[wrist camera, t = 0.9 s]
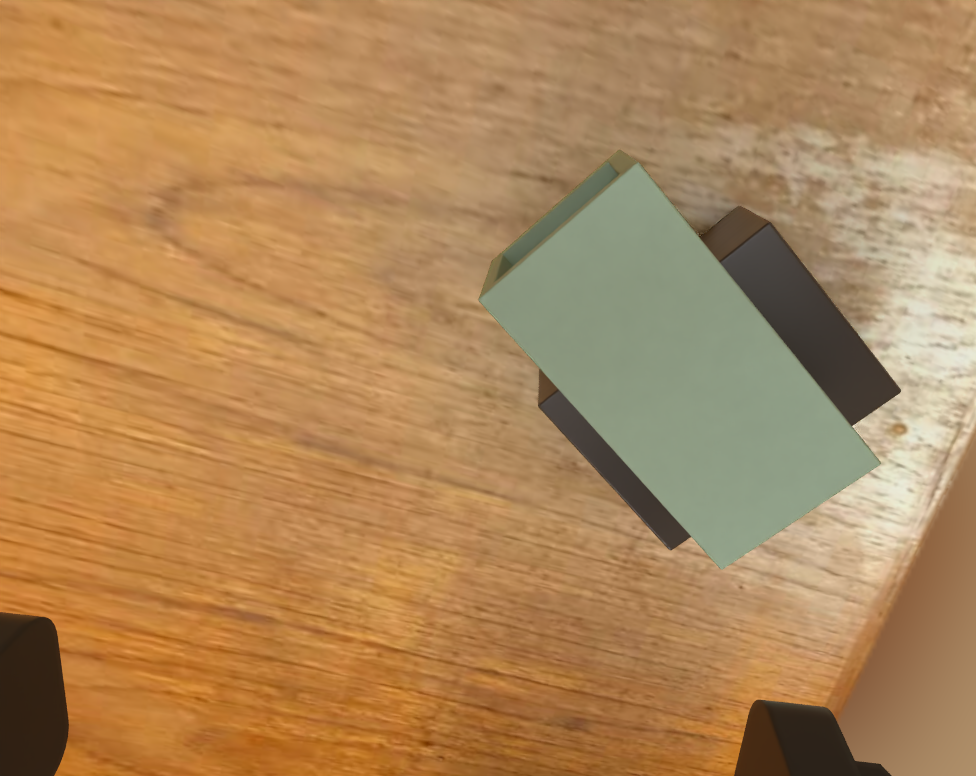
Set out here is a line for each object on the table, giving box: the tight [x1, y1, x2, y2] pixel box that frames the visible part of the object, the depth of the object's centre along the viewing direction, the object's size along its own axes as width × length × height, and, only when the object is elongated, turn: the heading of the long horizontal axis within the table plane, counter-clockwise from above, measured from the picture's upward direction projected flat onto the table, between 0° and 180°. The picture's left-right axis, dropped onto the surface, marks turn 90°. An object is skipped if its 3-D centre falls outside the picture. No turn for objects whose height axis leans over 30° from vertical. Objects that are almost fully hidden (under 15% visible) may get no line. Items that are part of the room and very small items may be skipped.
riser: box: [538, 206, 901, 550], centre depth 27 cm, size 7×9×4 cm
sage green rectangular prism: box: [479, 150, 881, 569], centre depth 23 cm, size 10×5×5 cm, turn 42°
